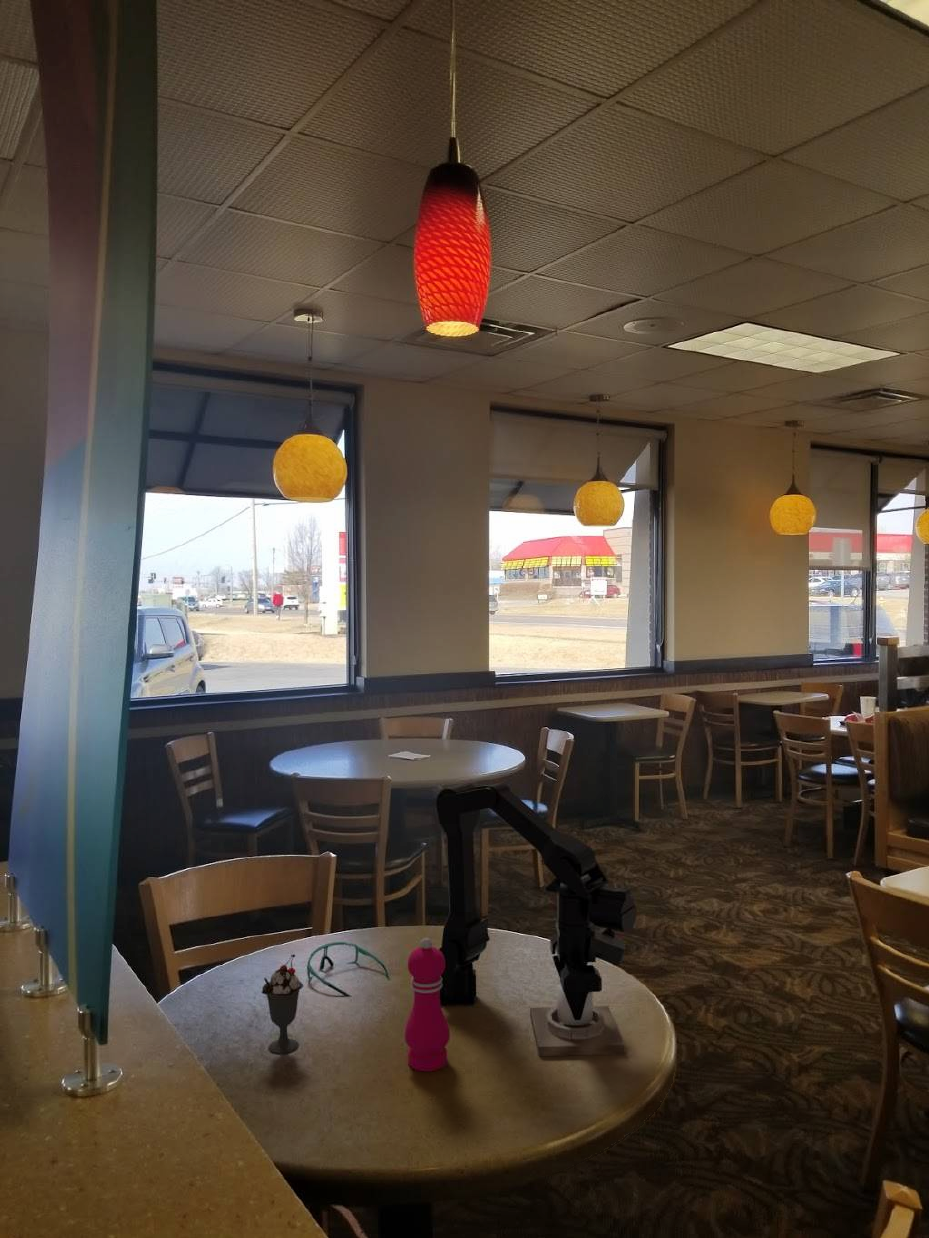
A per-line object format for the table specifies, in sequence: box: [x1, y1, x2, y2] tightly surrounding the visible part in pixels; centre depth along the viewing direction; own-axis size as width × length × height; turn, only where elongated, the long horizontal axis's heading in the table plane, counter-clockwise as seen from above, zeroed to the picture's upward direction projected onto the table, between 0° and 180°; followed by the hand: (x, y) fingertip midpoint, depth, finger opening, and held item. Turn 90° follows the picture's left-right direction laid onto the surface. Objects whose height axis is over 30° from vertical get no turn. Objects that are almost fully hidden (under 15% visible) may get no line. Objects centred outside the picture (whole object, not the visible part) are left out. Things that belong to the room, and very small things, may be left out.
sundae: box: [261, 954, 304, 1055], centre depth 150 cm, size 7×7×15 cm
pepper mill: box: [404, 937, 451, 1072], centre depth 144 cm, size 7×7×20 cm
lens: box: [556, 983, 594, 1025], centre depth 153 cm, size 6×6×5 cm
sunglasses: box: [306, 941, 391, 997], centre depth 177 cm, size 14×15×5 cm
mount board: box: [529, 1005, 626, 1057], centre depth 153 cm, size 14×14×3 cm
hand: (574, 1010), depth 153 cm, fingers closed on lens, 6 cm apart
